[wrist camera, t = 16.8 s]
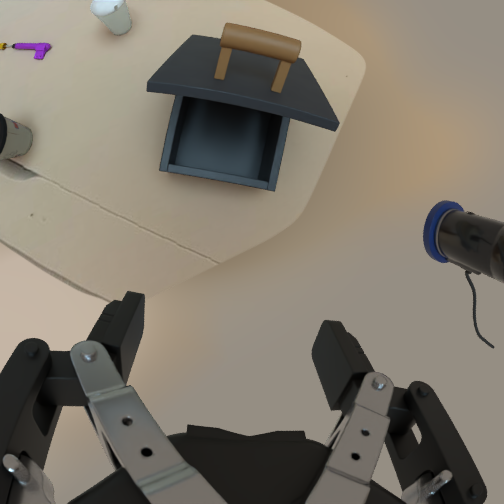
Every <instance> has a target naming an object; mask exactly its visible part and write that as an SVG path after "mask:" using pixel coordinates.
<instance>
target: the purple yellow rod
mask: <svg viewBox="0 0 504 504" xmlns="http://www.w3.org/2000/svg"><path fill="white" fill-rule="evenodd" d="M6 47H12V48H15V49H35V51H36V53H35V56H34V59H43V57H44V54H45V51H48V49H49V48H50V44H48V43H17V44H13V45H7V44H6V43H1V44H0V49H5V48H6Z"/></svg>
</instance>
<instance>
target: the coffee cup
mask: <svg viewBox="0 0 504 504" xmlns="http://www.w3.org/2000/svg"><path fill="white" fill-rule="evenodd" d="M31 144H32V132H31V130H30V129H29V128H28V127H26V126H23V125H21V124H19V123H17V122H15V121H12V120H10V119H8V118H6V117H4V116H3V115H2V114H0V160H4V159H8V158H13V157H18V156H22V155H24V154H25V153H27V151H28V150H29V149H30V147H31Z"/></svg>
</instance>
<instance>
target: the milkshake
mask: <svg viewBox="0 0 504 504" xmlns="http://www.w3.org/2000/svg"><path fill="white" fill-rule="evenodd" d="M90 9H91V12H92V13H93V14H94V15H95V16H96V17H97V18H98V19H99V20H100V21H102V22H103V23H104V24H105V25H106V27H107V28H108V29H109V30H110V31H111V32H112V33H113V34H114V35H122V34H125V33H127V32H128V31H129V29H130V28H131V24H132V21H131V18H130V14H129V10H128V7H127V3H126V0H93V1H92V3H91V6H90Z"/></svg>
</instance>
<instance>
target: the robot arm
mask: <svg viewBox="0 0 504 504" xmlns="http://www.w3.org/2000/svg"><path fill="white" fill-rule="evenodd" d="M434 244H435V248H436V250H437V252H438V253H439V254H440V255H441V256H444V257H445V260H447V261H449V262H451V263H454V264H455V265H458V266H460V267H461V268H463V269H465V270H466V271H465V275H466V278H467V280H468V282H469V284H470V286H471V288H472V292H473V320H474V327H475V330H476V333H477V335H478V336H479V338H480V339H481V340H482V341H484V342H485V343H486V344H487V345H489V346H490V347H491V348H494V346H493V345H492V344H490V343H489V342H488V341H487V340H486V339H484V338H483V337H482V336H481V335H480V333H479V331H478V328H477V323H476V292H475V288H474V285H473V283H472V281H471V279H470V277H469V275H468V274H471V273H472V272H473V273H475V274H477V275H479V274H481V273H483V274H485V275H487V276H489V277H491V278H494V279H496V280H498V281H500V282H502V283H504V222H501V221H497V220H494V219H490V218H486V217H482V216H479V215H476V214H474V213H471V212H469V213H467V212H463V211H460V210H457V209H453V208H451V209H447V210H446V211H444V212H443V213H442V214H441V216H440V217H439V219H438V221H437V223H436V226H435V231H434ZM144 303H145V295H144V294H141V293H136V292H131V291H127V293H126V294H125V296H124V298H123V300H122V301H118V300H114V301H112V302H111V303H109V304H108V305H106V307H105V308H104V310H103V312H102V314H101V315H100V317H99V320H97V322H96V324H95V325H94V327H93V329H92V331H91V333H90V334H89V336H88V338H87V340H86V341H81V342H79V343H77V344H75V345H74V346H73V347H72V349H71V351H50V350H49V346H48V344H47V343H46V342H45V341H43V340H41V339H37V338H30V339H26V340H24V341H22V342H20V343H19V344H18V346H17V347H16V349H15V350H14V352H13V353H12V355H11V357H10V358H9V360H8V361H7V363H6V365H5V366H4V368H3V370H2V372H1V373H0V504H55V501H54V488H53V485H52V483H51V481H50V479H49V478H48V477H47V476H46V475H45V473H44V472H43V469H44V465H45V461H46V458H47V454H48V450H49V447H50V444H51V441H52V437H53V434H54V431H55V428H56V425H57V422H58V419H59V416H60V413H61V410H62V407H63V406H84V409H85V411H86V413H87V415H88V417H89V420H90V422H91V424H92V426H93V428H94V430H95V432H96V434H97V436H98V438H99V440H100V443H101V444H102V447H103V449H104V451H105V453H106V456H107V457H108V459H109V461H110V463H111V465H112V466H113V468H114V470H115V472H113V473H112V474H110V475H109V476H107V477H106V478H105V479H103V480H102V481H100V482H99V483H97V484H96V485H94V486H93V487H91V488H90V489H88V490H87V491H85V492H84V493H82V494H81V495H79V496H77V497H76V498H75V499H73V500H71V501H70V502H68V504H483V503H484V502H485V500H486V498H487V489H486V486H485V484H484V482H483V479H482V477H481V475H480V473H479V471H478V469H477V467H476V465H475V463H474V461H473V459H472V457H471V456H470V454H469V452H468V450H467V448H466V446H465V445H464V442H463V440H462V439H461V437H460V435H459V433H458V431H457V430H456V428H455V426H454V424H453V422H452V421H451V419H450V417H449V415H448V414H447V412H446V410H445V409H444V407H443V406H442V404H441V402H440V400H439V398H438V397H437V395H436V393H435V392H434V390H433V389H432V388H431V387H430V386H429V385H428V384H426V383H424V382H421V381H414V382H412V383H411V384H410V386H409V387H408V389H404V388H399V387H394V385H393V383H392V381H391V380H390V379H389V378H388V377H387V376H386V375H384V374H381V373H379V372H375V371H374V369H373V367H372V365H371V364H370V362H369V360H368V358H367V356H366V355H365V354H364V351H363V350H362V348H361V346H360V344H359V343H358V341H357V339H356V338H355V337H354V336H352V335H351V334H350V333H349V332H346V330H345V328H344V326H343V325H342V323H341V322H340V321H330V320H324V321H323V323H322V325H321V327H320V330H319V332H318V335H317V337H316V340H315V342H314V345H313V348H312V359H313V362H314V365H315V367H316V370H317V373H318V376H319V379H320V381H321V384H322V387H323V389H324V392H325V395H326V398H327V401H328V404H329V406H330V409H331V410H341V411H342V414H341V415H340V417H339V419H338V420H337V422H336V424H335V427H334V428H333V430H332V432H331V434H330V436H329V437H328V439H327V441H326V443H325V445H323V444H321V443H319V442H316V441H313V440H310V439H306V437H305V432H304V431H275V432H270V433H265V434H259V435H255V436H245V435H241V434H237V433H233V432H230V431H226V430H223V429H219V428H213V427H203V426H194V425H187V432H186V433H178V434H173V435H169V436H166V435H165V434H164V433H163V431H162V430H161V429H160V427H159V426H158V424H157V423H156V421H155V420H154V419H153V417H152V415H151V414H150V412H149V411H148V410H147V408H146V407H145V405H144V403H143V402H142V400H141V399H140V397H139V396H138V394H137V392H136V391H135V389H134V388H133V387H132V386H131V385H129V386H126V383H127V381H128V377H129V374H130V371H131V368H132V365H133V362H134V359H135V355H136V353H137V350H138V347H139V344H140V340H141V338H142V334H143V329H144V306H145V304H144ZM415 423H417V426H418V428H419V430H420V432H421V435H422V439H421V442H420V444H418V442H417V440H416V437H415V435H414V433H413V431H412V429H411V428H412V427H413V426H414V425H415ZM384 442H385V444H386V447H387V449H388V452H389V455H390V457H391V460H392V463H393V466H394V468H395V471H396V474H397V477H398V480H399V483H400V485H401V488H402V491H403V493H402V497H401V499H400V498H398V497H397V496H395V495H394V494H392V493H390V492H389V491H388V490H386V489H384V488H383V487H382V486H380V485H379V484H378V483H376V482H375V481H373V480H372V479H371V478H372V475H373V472H374V469H375V467H376V464H377V461H378V458H379V455H380V452H381V449H382V446H383V443H384Z"/></svg>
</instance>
